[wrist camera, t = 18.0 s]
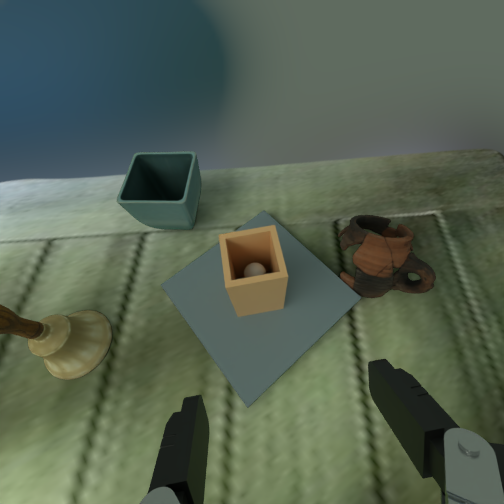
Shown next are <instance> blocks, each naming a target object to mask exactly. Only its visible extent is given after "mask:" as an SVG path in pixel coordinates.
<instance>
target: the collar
mask: <svg viewBox="0 0 504 504" xmlns="http://www.w3.org/2000/svg"><path fill="white" fill-rule="evenodd" d="M219 241H220V249H221V257H222V265H223V273H224V281H225V288H226V290H227V293H228V295H229V297H230V300H231V302H232V304H233V307H234V309H235V311H236V314H237V316H238V317H241V316H247V315H252V314H257V313H263V312H268V311H274V310H279V309H283V308H284V301H285V295H286V288H287V282H288V273H287V270H286V266H285V262H284V258H283V254H282V250H281V246H280V242H279V238H278V235H277V231H276V227H275V225H271V226H265V227H259V228H254V229H248V230H242V231H237V232H231V233H225V234H220V235H219ZM251 263H259V264H261V265H262V266H263V267H264V268H265V270H266V273H270V274H264V275H259V276H253V277H248V278H243V277H244V270H245V268H246V267H247V265H249V264H251ZM237 278H242V279H237Z"/></svg>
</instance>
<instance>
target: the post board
mask: <svg viewBox="0 0 504 504" xmlns="http://www.w3.org/2000/svg"><path fill="white" fill-rule="evenodd" d="M271 225H275V227H276V231H277V235H278V238H279V242H280V246H281V250H282V254H283V258H284V262H285V266H286V270H287V273H288V282H287V288H286V295H285V301H284V308H283V309H279V310H274V311H268V312H263V313H257V314H252V315H247V316H241V317H238V316H237V314H236V311H235V309H234V307H233V304H232V302H231V300H230V297H229V295H228V293H227V290H226V288H225V281H224V273H223V265H222V257H221V249H220V242H219V243H218V244H216V245H215V246H214V247H212V248H211V249H210V250H208V251H207V252H205V253H204V254H203V255H201V256H200V257H199V258H197V259H196V260H194V261H193V262H192V263H190V264H189V265H187V266H186V267H185V268H183V269H182V270H181V271H179V272H178V273H176V274H175V275H174V276H172V277H171V278H169V279H168V280H167V281H165V282H164V283H163V284H161V286H162V288H163V289H164V290H165V292H166V293H167V295H168V296H169V298H170V299H171V300H172V302H173V303H174V305H175V306H176V307H177V309H178V310H179V312H180V313H181V314H182V316H183V317H184V319H185V320H186V322H187V323H188V324H189V326H190V327H191V329H192V330H193V331H194V333H195V334H196V336H197V337H198V339H199V340H200V341H201V343H202V344H203V346H204V347H205V348H206V350H207V351H208V353H209V354H210V355H211V357H212V358H213V360H214V361H215V363H216V364H217V365H218V367H219V368H220V370H221V371H222V372H223V374H224V375H225V377H226V378H227V379H228V381H229V382H230V384H231V385H232V387H233V388H234V389H235V391H236V392H237V394H238V395H239V396H240V398H241V399H242V401H243V402H244V403H245V405H246V406H247V408H248V407H249V406H250V405H251V404H252V403H253V402H254V401H255V400H256V399H257V398H258V397H259V396H260V395H262V394H263V393H264V392H265V391H266V390H267V389H268V388H269V387H270V386H271V385H272V384H273V383H274V382H275V381H276V380H277V379H278V378H279V377H280V376H281V375H282V374H283V373H284V372H285V371H286V370H287V369H288V368H289V367H291V366H292V365H293V364H294V363H295V362H296V361H297V360H298V359H299V358H300V357H301V356H302V355H303V354H304V353H305V352H306V351H307V350H308V349H309V348H310V347H311V346H312V345H313V344H314V343H315V342H316V341H317V340H318V339H320V338H321V337H322V336H323V335H324V334H325V333H326V332H327V331H328V330H329V329H330V328H331V327H332V326H333V325H334V324H335V323H336V322H337V321H338V320H339V319H340V318H341V317H342V316H343V315H344V314H345V313H346V312H347V311H348V310H350V309H351V308H352V307H353V306H354V305H355V304H356V303H357V302H358V301H359V300H360V299H361V297H360V296H359V295H358V294H357V293H356V292H354V291H353V290H352V289H351V288H350V287H349V286H348V285H347V284H346V283H344V282H343V281H342V280H341V279H340V278H339V277H338V276H337V275H336V274H334V273H333V272H332V271H331V270H330V269H329V268H328V267H327V266H326V265H324V264H323V263H322V262H321V261H320V260H319V259H318V258H317V257H316V256H314V255H313V254H312V253H311V252H310V251H309V250H308V249H307V248H306V247H304V246H303V245H302V244H301V243H300V242H299V241H298V240H297V239H296V238H294V237H293V236H292V235H291V234H290V233H289V232H288V231H287V230H286V229H284V228H283V227H282V226H281V225H280V224H279V223H278V222H277V221H276V220H274V219H273V218H272V217H271V216H270V215H269V214H268V213H267V212H266V211H262V212H261V213H259V214H258V215H257V216H255V217H254V218H252V219H251V220H250V221H248V222H247V223H246V224H244V225H243V226H241V227H240V228H239V229H237V230H236V231H234V232H237V231H242V230H248V229H254V228H259V227H265V226H271ZM264 274H270V273H266V270H265V268H264V267H263V266H262V265H261V264H259V263H251V264H249V265H247V267H246V268H245V270H244V277H243V278H248V277H253V276H259V275H264ZM237 279H242V278H237Z"/></svg>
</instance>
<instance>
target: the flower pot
mask: <svg viewBox="0 0 504 504" xmlns="http://www.w3.org/2000/svg"><path fill="white" fill-rule="evenodd" d="M200 193H201V177H200V171H199V166H198V160H197V155H196V153H195V152H139V153H135V154H134V156H133V158H132V161H131V164H130V166H129V169H128V172H127V175H126V177H125V180H124V183H123V185H122V187H121V190H120V192H119V195H118V197H117V202H118V203H119V204H120V205H121V206H122V207H123V208H124V209H125V210H126V211H128V212H129V213H130V214H131V215H132V216H133V217H134V218H136V219H137V220H138V221H140V222H141V223H143V224H145V225H147V226H150V227H153V228H159V229H184V230H190V229H192V228H193V226H194V223H195V218H196V213H197V208H198V203H199V198H200Z"/></svg>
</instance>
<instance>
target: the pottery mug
mask: <svg viewBox="0 0 504 504" xmlns="http://www.w3.org/2000/svg"><path fill="white" fill-rule="evenodd" d="M390 222H391V220H390V219H387V218H384V217H379V216H373V215H359V216H355V217H353V218H351V220H350V225H349V226H347V227H346V228H344V229H343V230H342V231H341V232H340V233H339V235H338V236H339V237H341V236H342V235H343V234H344V235H343V237H342V241H341V243H340V246H341V248H342V250H346V249H347V248H348V247H349V246H352V245H355V244H362V245H361V246H360V247H359V248H358V250H357V251H356V252H355V253H354V255H353V263H354V264H355V265H356V266H357V268H356V278H355V277H352V276H350V275H348V274H347V273H345V272H341V274H340V279H341V280H342V281H343V282H344V283H346V284H347V285H348V286H349V287H350V288H351V289H352V290H353V291H354V292H356V293H357V294H358V295H360V296H362V297H368V298H375V297H381V296H383V295H384V294H385V293H386V292H388V291H389V290H391V289H393V290H400V291H403V292H407V293H424V292H427V291H429V290H430V289H432V288H433V287H434V284H433V283H434V281H435V279H436V276H435V273H434V271H433V269H432V268H431V267H430V266H429V265H428V264H427V263H425V262H423V261H422V260H420V259H418V258H417V257H416V256H415V254H414V253H410V251H413V247H412V244H411V241H412V240H413V238H414V234H413V232H412V231H411V230H410V229H409V228H407V227H406V226H404V225H402V224H399V225H398V227H397V229H394V228H391V227H388V225H389V223H390ZM364 229H369V230H372V231H374V232H376V233H378V234H380V235H382V236H379V235H375V234H372V233H369V232H367V231H365V230H364ZM397 236H398V237H400V238H397ZM393 268H399V270H398V271H396V272H395V273H394V274H393ZM408 273H416V274H418V275H419V276H420V277H421V279H420V280H416V281H412V280H410V279H409V278H408Z"/></svg>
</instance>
